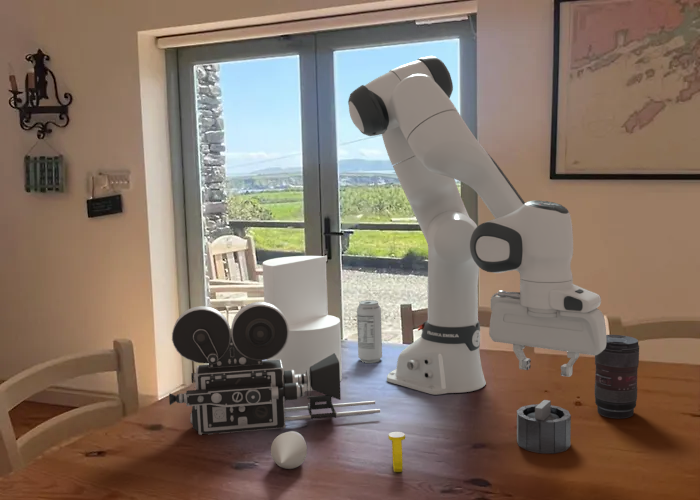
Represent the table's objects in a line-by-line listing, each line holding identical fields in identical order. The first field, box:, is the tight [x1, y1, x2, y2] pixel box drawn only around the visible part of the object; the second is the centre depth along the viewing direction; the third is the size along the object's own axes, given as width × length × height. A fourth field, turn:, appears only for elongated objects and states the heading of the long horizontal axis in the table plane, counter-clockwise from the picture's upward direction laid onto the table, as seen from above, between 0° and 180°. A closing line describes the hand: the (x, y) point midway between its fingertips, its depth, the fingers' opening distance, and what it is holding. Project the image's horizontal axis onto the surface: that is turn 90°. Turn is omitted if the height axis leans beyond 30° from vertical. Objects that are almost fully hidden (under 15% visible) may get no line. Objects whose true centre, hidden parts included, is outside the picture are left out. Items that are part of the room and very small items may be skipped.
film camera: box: [168, 301, 381, 436], centre depth 145 cm, size 40×12×24 cm, turn 99°
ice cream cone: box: [270, 430, 308, 470], centre depth 124 cm, size 6×6×15 cm
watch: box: [387, 431, 406, 473], centre depth 123 cm, size 6×3×6 cm, turn 0°
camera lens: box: [594, 334, 640, 419], centre depth 146 cm, size 8×8×15 cm
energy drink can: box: [356, 299, 383, 364], centre depth 188 cm, size 6×6×15 cm
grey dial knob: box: [527, 399, 559, 420], centre depth 131 cm, size 6×6×4 cm
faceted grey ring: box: [516, 403, 572, 455], centre depth 132 cm, size 9×9×6 cm
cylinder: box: [262, 255, 343, 392], centre depth 172 cm, size 17×17×28 cm
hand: (545, 372), depth 131 cm, fingers open, 6 cm apart
